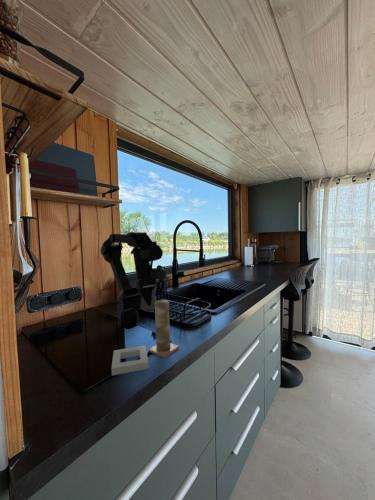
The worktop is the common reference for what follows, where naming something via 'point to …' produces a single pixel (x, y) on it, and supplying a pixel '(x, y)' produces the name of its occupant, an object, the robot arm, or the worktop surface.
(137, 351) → the holder
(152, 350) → the tile
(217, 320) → the worktop surface
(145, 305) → the coffeepot
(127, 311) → the robot arm
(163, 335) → the peg
